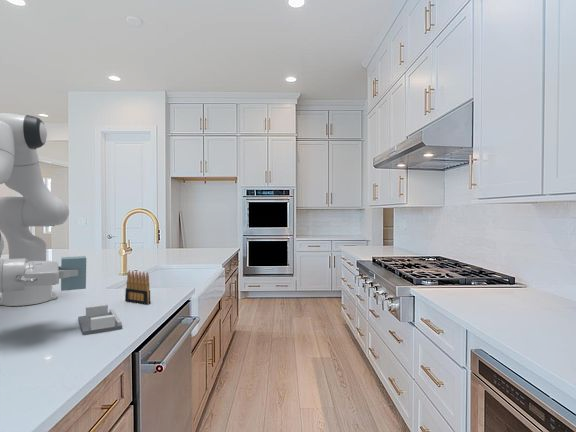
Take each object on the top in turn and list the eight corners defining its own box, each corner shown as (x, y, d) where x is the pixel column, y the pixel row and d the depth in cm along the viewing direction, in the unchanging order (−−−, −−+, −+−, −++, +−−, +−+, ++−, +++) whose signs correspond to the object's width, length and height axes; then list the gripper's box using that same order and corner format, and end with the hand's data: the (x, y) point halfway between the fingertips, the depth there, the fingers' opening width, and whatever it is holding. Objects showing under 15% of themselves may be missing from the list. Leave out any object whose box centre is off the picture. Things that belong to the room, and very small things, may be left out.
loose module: (60, 287, 101) (61, 257, 101) (84, 285, 104) (85, 256, 104) (61, 290, 97) (61, 259, 97) (85, 288, 100) (86, 258, 100)
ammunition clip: (150, 303, 129) (151, 271, 129) (146, 304, 127) (147, 272, 127) (128, 300, 132) (129, 269, 132) (124, 301, 131) (125, 270, 131)
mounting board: (78, 319, 108) (78, 307, 108) (113, 314, 114) (113, 302, 114) (82, 335, 95) (83, 320, 95) (122, 328, 101) (122, 315, 101)
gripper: (14, 269, 85) (79, 265, 92) (20, 258, 101) (75, 256, 109) (14, 294, 85) (79, 288, 93) (20, 279, 101) (75, 275, 109)
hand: (77, 270), depth 101 cm, fingers closed on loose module, 4 cm apart
